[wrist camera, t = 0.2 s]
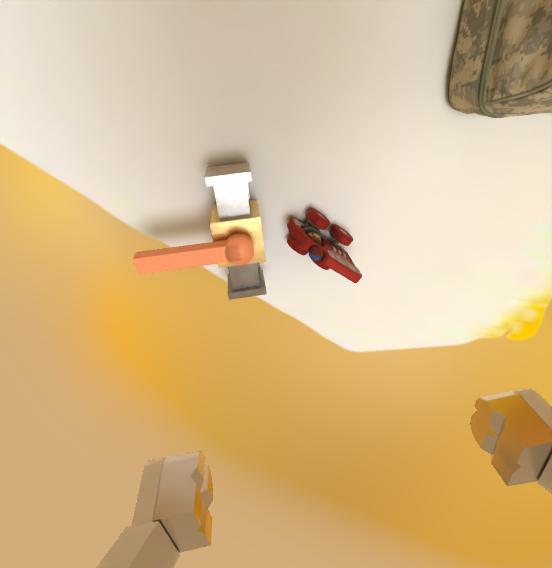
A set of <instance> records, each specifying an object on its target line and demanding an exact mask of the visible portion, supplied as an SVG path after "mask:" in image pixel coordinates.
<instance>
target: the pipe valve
mask: <svg viewBox="0 0 552 568" xmlns="http://www.w3.org/2000/svg"><path fill="white" fill-rule="evenodd" d="M205 181H206V186H207V187H209V186H213V188H214V193H215V198H216V204H217V205H212V210H211V218H210V227H211V232H212V237H213V241H214V242H216V241H224V240H227V239H228V238H229V237H230V236H232V235H234V234H244V235H246V236H248V237H249V238H250V239H251V240H252V242H253V246H254V257H253V259H252V260H251V261H250V262H249V263H247V264H245V265H241V266H238V265H234V264H232V263H230V262H226V263H218V266H219V268H223V267H229V272H230V274H228V296H229V299H237V298H243V297H250V296H257V295H264V294H266V287H265V281H264V276H263V270H258V268H259V262H266V259H265V251H264V243H263V235H262V227H261V218H260V214H259V209H258V205H257V201H256V200H248V199H250V195H249V188H248V182H249V181H252V178H251V171H250V167H249V163H248V162H245V163H237V164H229V165H221V166H212V167H207V170H206V174H205Z"/></svg>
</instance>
